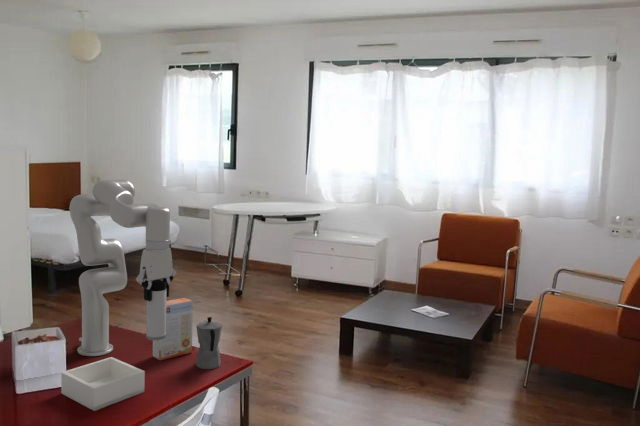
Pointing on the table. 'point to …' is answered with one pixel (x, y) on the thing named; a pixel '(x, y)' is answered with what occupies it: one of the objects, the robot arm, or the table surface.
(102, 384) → the bin
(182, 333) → the cracker box
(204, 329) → the coffeepot
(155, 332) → the travel mug
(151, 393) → the table surface
